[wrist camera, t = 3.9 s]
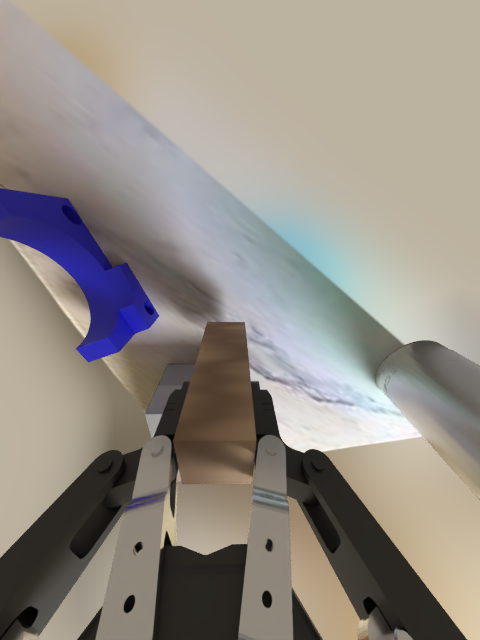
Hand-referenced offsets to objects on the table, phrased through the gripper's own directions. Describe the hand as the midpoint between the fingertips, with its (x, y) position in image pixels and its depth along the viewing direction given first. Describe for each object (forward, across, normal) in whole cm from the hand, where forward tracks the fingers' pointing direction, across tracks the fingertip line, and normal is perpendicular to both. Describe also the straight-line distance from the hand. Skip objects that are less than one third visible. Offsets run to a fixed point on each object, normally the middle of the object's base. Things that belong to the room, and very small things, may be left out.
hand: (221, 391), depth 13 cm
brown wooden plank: (+7, 0, 0) cm, 7 cm away
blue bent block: (+10, +12, -6) cm, 16 cm away
